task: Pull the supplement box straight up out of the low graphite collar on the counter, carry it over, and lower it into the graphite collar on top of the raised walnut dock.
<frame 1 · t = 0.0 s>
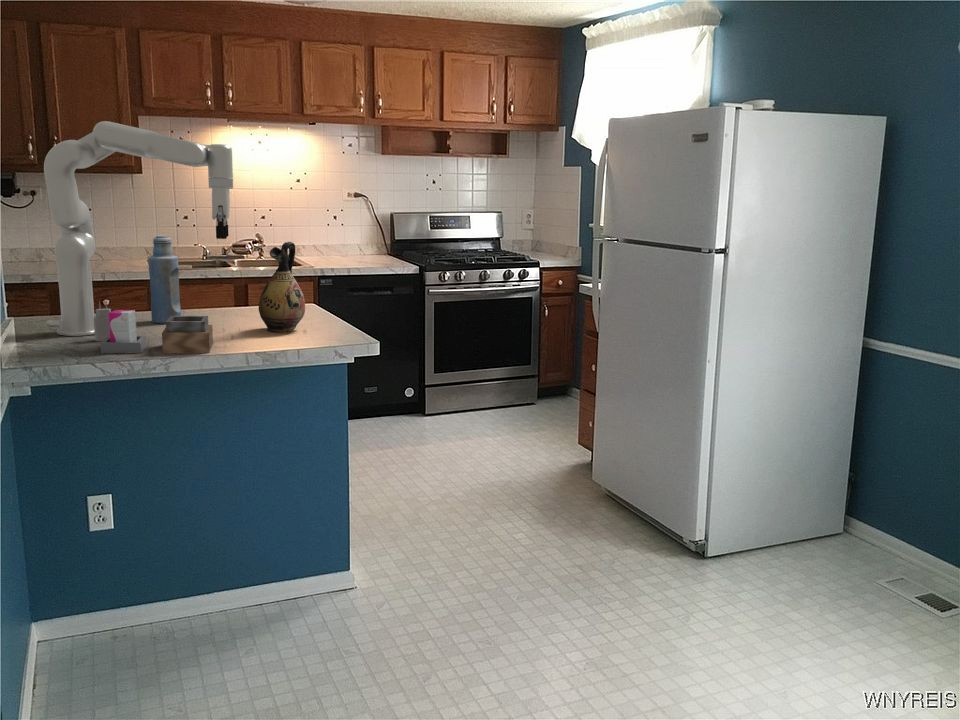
hand: (222, 237, 267), 31 cm above the countertop, tool pointing down, fingers open, 9 cm apart
low collar: (124, 349, 241), on the countertop
power adapter: (105, 340, 254), on the countertop
bottle: (166, 322, 287), on the countertop
ceramic jug: (283, 330, 281), on the countertop
supplement box: (124, 350, 241), on the countertop
raised dock: (188, 348, 245), on the countertop
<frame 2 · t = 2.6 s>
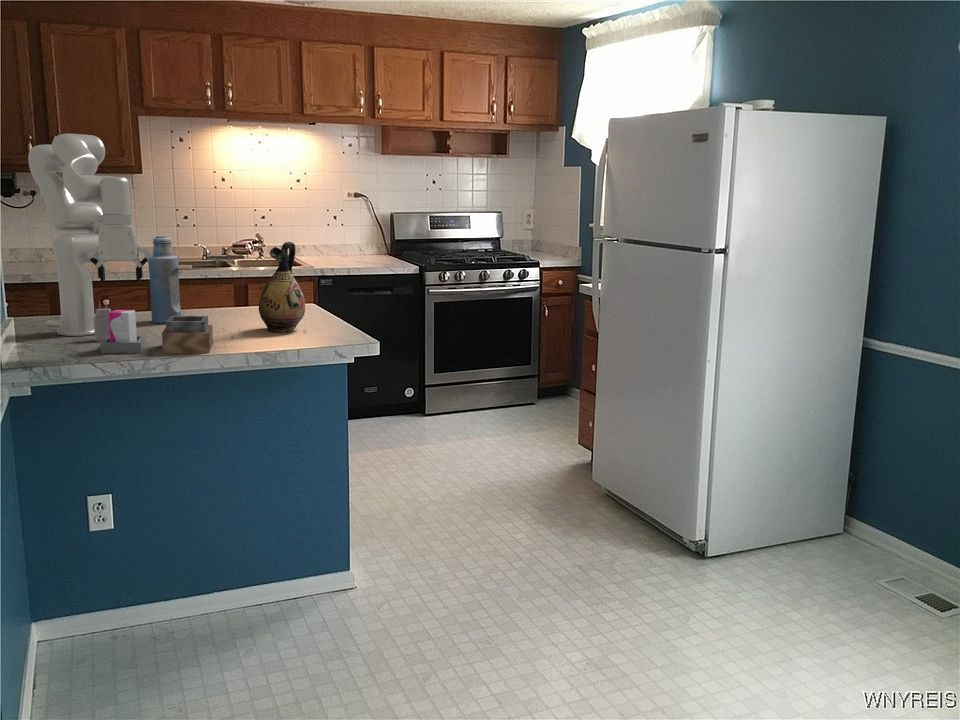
hand: (120, 280, 237), 20 cm above the countertop, tool pointing down, fingers open, 9 cm apart
nothing on the countertop moved.
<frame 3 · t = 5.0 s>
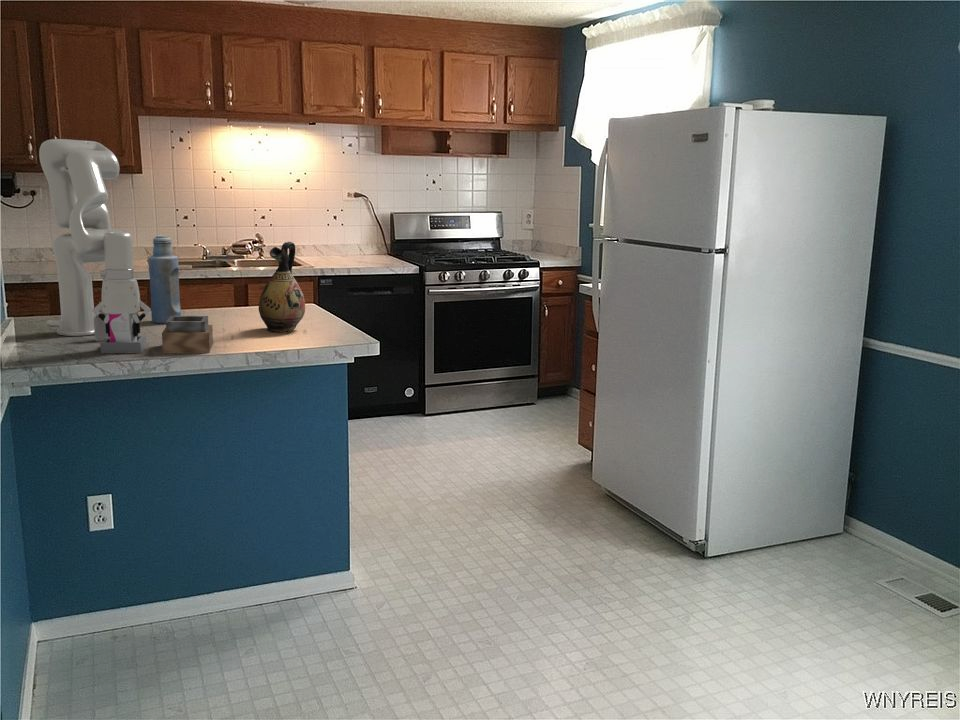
hand: (123, 335, 240), 4 cm above the countertop, tool pointing down, fingers closed on supplement box, 6 cm apart
supplement box: (124, 349, 241), on the countertop, touching gripper
everything else where it was.
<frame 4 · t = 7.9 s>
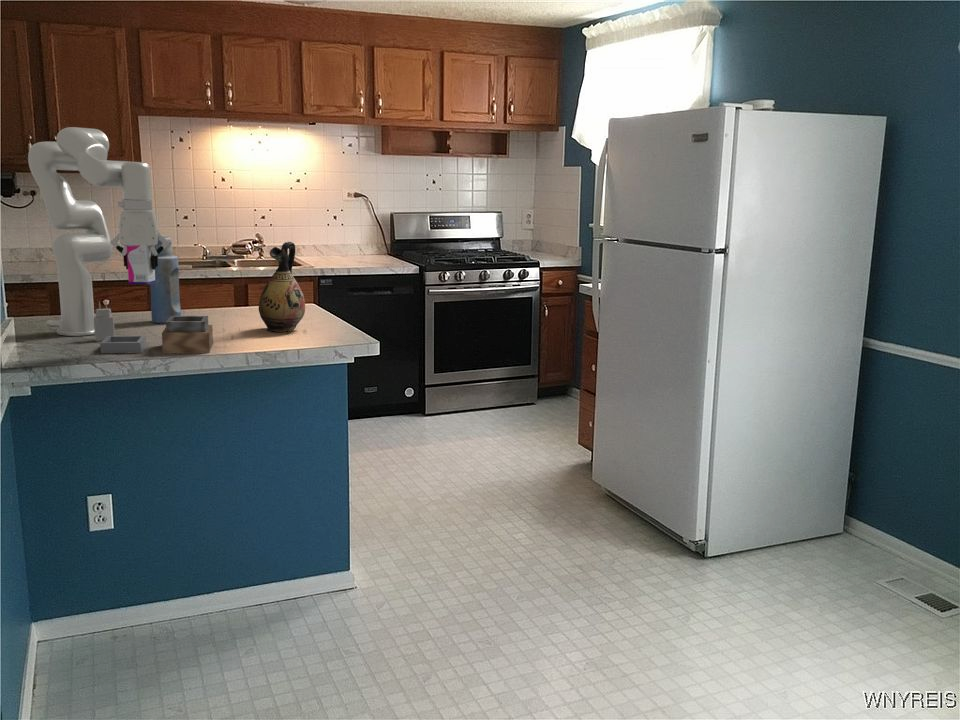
hand: (141, 268, 237), 24 cm above the countertop, tool pointing down, fingers closed on supplement box, 6 cm apart
supplement box: (142, 283, 238), point 19 cm above the countertop, touching gripper
everything else where it was.
when the fingers open (11 cm above the countertop, at t = 10.8 s): supplement box stays where it is, resting on raised dock.
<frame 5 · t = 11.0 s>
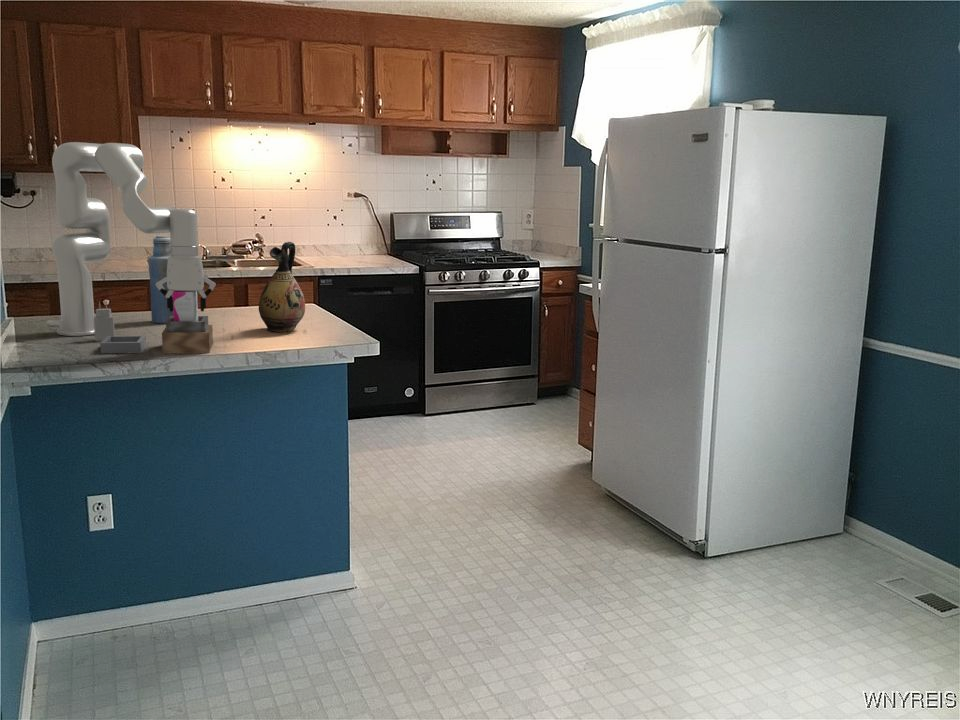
hand: (187, 310, 243), 11 cm above the countertop, tool pointing down, fingers open, 8 cm apart
supplement box: (186, 329, 244), point 6 cm above the countertop, touching raised dock
everything else where it was.
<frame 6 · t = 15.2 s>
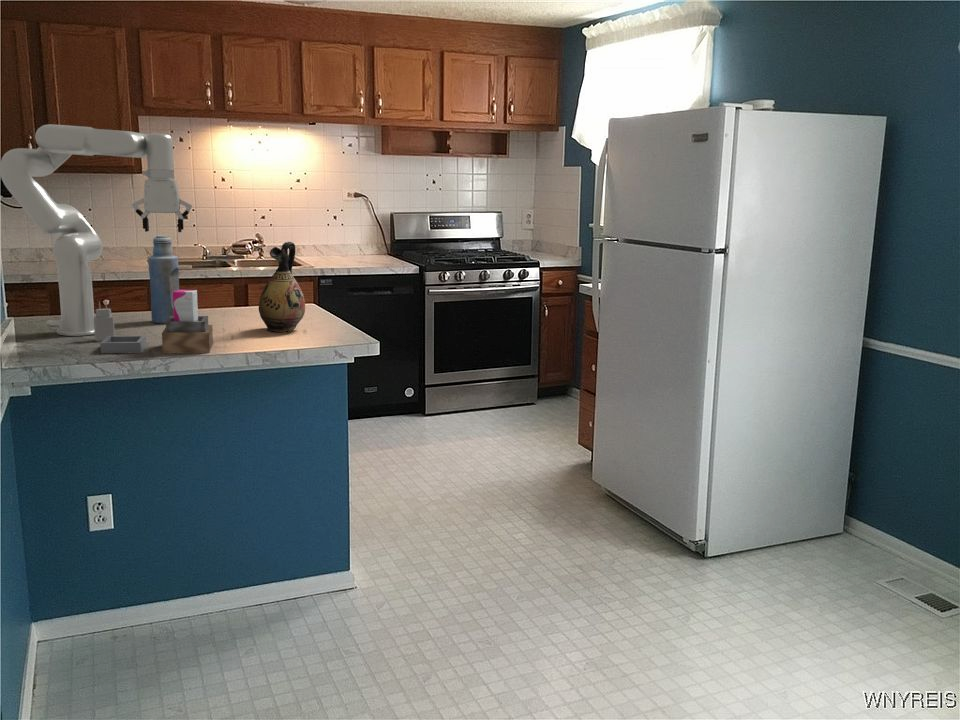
hand: (163, 231, 254), 33 cm above the countertop, tool pointing down, fingers open, 9 cm apart
nothing on the countertop moved.
at the end: supplement box 0.4 cm from the target spot, point 5.8 cm above the countertop; supplement box tilted 0°; the gripper is holding nothing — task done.
